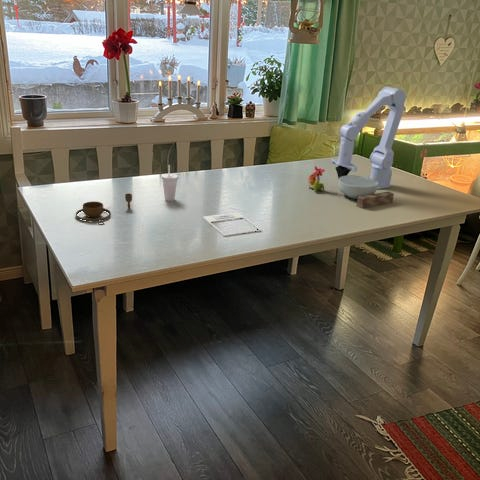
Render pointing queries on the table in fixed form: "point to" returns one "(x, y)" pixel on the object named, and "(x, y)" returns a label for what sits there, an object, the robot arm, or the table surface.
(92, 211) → the place setting
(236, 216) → the photo frame
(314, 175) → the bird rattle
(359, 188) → the cereal bowl
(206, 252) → the table surface
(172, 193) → the smoothie
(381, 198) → the block
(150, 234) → the table surface
